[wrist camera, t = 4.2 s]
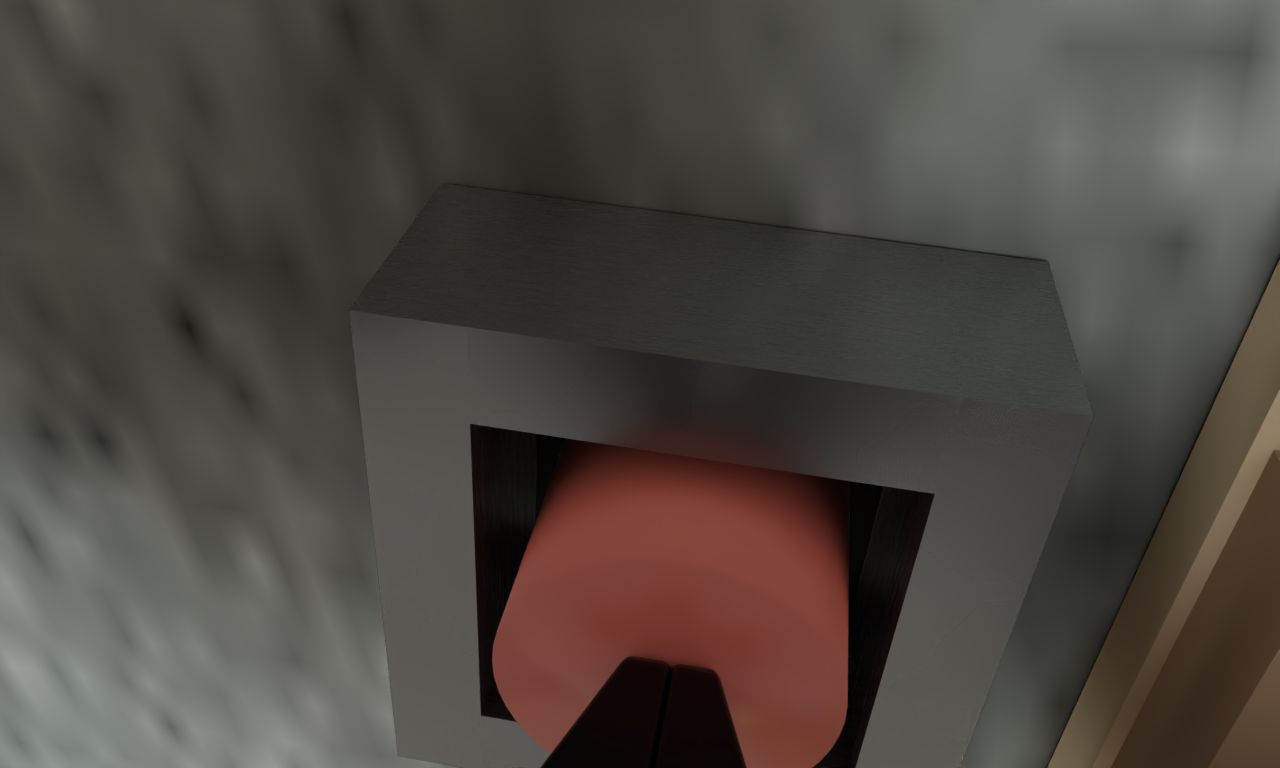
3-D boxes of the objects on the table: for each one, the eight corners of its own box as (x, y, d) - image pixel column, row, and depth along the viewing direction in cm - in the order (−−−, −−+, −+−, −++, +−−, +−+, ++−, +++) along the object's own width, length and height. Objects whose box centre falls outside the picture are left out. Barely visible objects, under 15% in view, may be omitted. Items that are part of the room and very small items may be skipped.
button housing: (917, 673, 14) (927, 852, 12) (461, 597, 15) (397, 755, 13) (1048, 261, 10) (1093, 416, 8) (441, 182, 11) (349, 310, 9)
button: (824, 612, 13) (817, 824, 11) (556, 569, 13) (495, 767, 11) (875, 391, 11) (879, 593, 9) (562, 348, 11) (488, 532, 9)
